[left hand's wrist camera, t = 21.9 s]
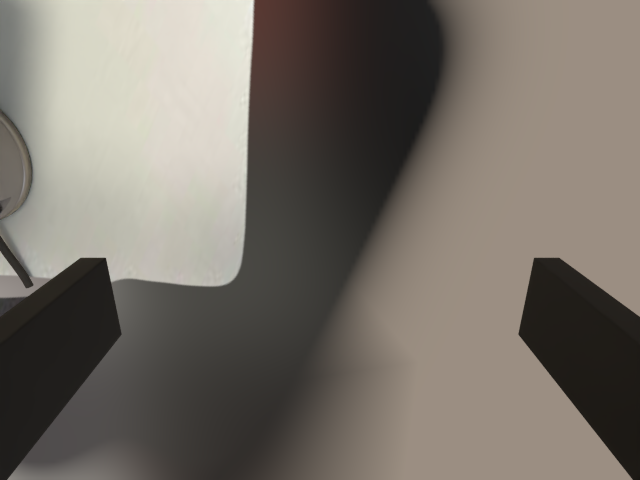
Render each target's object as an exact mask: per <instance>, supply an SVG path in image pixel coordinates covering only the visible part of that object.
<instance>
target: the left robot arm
mask: <svg viewBox="0 0 640 480" xmlns="http://www.w3.org/2000/svg"><path fill="white" fill-rule="evenodd" d="M31 179H32V168H31V161H30V157H29V154H28V150H27V148H26V145H25V143H24V141H23V139H22V137H21V135H20V134H19V132H18V130H17V129H16V128H15V126H14V125H13V124H12V122H11V121H10V120H9V119H8V118H7V116H6V115H5V114H4V113H3V112H2V111H0V219H3V218H5V217H7V216H9V215H11V214H12V213H13V212H15V211H16V210H17V209H18V208H19V207H20V206H21V205H22V204H23V202H24V201H25V199H26V197H27V195H28V193H29V190H30V186H31ZM0 251H1V253H2V254H3V255H4V257H5V258H6V259H7V261H8V262H9V264H10V265H11V266H12V267H13V269H14V270H15V272H16V273H17V274H18V276H19V277H20V279H21V280H22V282H23V284H24V285H25V287H26V288H29V287H31V286H33V283H32V281H31V279H30V278H29V276H28V275H27V273H26V272H25V270H24V269H23V267H22V266H21V265H20V263H19V262H18V261H17V259H16V258H15V256H14V255H13V254H12V252H11V251H10V249H9V248H8V246H7V245H6V244H5V242H4V241H3V239H2V238H1V236H0ZM120 336H121V329H120V325H119V320H118V315H117V310H116V305H115V300H114V295H113V290H112V286H111V281H110V276H109V271H108V266H107V261H106V258H80V259H79V260H77V261H76V262H75V263H73V264H72V265H70V266H69V267H68V268H66V269H65V270H64V271H62V272H61V273H60V274H58V275H57V276H55V277H54V278H53V279H51V280H50V281H49V282H47V283H46V284H45V285H43V286H42V287H40V288H39V289H38V290H36V291H35V292H34V293H32V294H31V295H30V296H28V297H27V298H25V299H24V300H23V301H21V302H20V303H19V304H17V305H16V306H15V307H13V308H12V309H10V310H9V311H8V312H6V313H5V314H4V315H2V316H1V317H0V480H7V479H8V478H9V477H10V475H11V474H12V473H13V471H14V470H15V469H16V468H17V466H18V465H19V464H20V463H21V461H22V460H23V459H24V458H25V456H26V455H27V454H28V452H29V451H30V450H31V449H32V447H33V446H34V445H35V443H36V442H37V441H38V440H39V438H40V437H41V436H42V435H43V433H44V432H45V431H46V430H47V428H48V427H49V426H50V424H51V423H52V422H53V421H54V419H55V418H56V417H57V416H58V414H59V413H60V412H61V411H62V409H63V408H64V407H65V405H66V404H67V403H68V402H69V400H70V399H71V398H72V397H73V395H74V394H75V393H76V391H77V390H78V389H79V388H80V386H81V385H82V384H83V383H84V381H85V380H86V379H87V378H88V376H89V375H90V374H91V372H92V371H93V370H94V369H95V367H96V366H97V365H98V364H99V362H100V361H101V360H102V358H103V357H104V356H105V355H106V353H107V352H108V351H109V350H110V348H111V347H112V346H113V345H114V343H115V342H116V341H117V339H118V338H119V337H120ZM519 336H520V337H521V338H522V339H523V341H524V342H525V343H526V345H527V346H528V347H529V348H530V350H531V351H532V352H533V353H534V355H535V356H536V357H537V359H538V360H539V361H540V362H541V363H542V365H543V366H544V367H545V369H546V370H547V371H548V372H549V374H550V375H551V376H552V378H553V379H554V380H555V381H556V383H557V384H558V385H559V386H560V388H561V389H562V390H563V392H564V393H565V394H566V395H567V397H568V398H569V399H570V400H571V402H572V403H573V404H574V405H575V407H576V408H577V409H578V411H579V412H580V413H581V414H582V416H583V417H584V418H585V419H586V421H587V422H588V423H589V425H590V426H591V427H592V428H593V430H594V431H595V432H596V433H597V435H598V436H599V437H600V438H601V440H602V441H603V442H604V444H605V445H606V446H607V447H608V449H609V450H610V451H611V452H612V454H613V455H614V456H615V458H616V459H617V460H618V461H619V463H620V464H621V465H622V466H623V468H624V469H625V470H626V471H627V473H628V474H629V475H630V476H631V478H632V479H633V480H640V317H639V316H638V315H636V314H635V313H634V312H632V311H631V310H630V309H628V308H627V307H625V306H624V305H623V304H621V303H620V302H619V301H617V300H616V299H615V298H613V297H612V296H610V295H609V294H608V293H606V292H605V291H604V290H602V289H601V288H600V287H598V286H597V285H595V284H594V283H593V282H591V281H590V280H589V279H587V278H586V277H585V276H583V275H582V274H580V273H579V272H578V271H576V270H575V269H574V268H572V267H571V266H570V265H568V264H567V263H565V262H564V261H563V260H561V259H560V258H534V261H533V266H532V271H531V276H530V281H529V286H528V290H527V295H526V300H525V305H524V310H523V315H522V320H521V324H520V329H519Z"/></svg>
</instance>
